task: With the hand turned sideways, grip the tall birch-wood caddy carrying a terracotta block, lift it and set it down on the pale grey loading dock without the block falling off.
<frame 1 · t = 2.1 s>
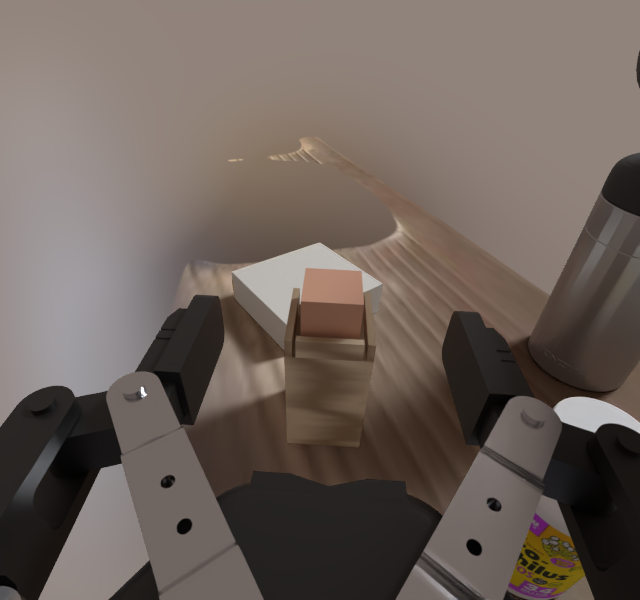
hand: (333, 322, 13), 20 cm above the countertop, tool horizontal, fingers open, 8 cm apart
supplement bottle: (513, 546, 26), on the countertop
dock: (305, 305, 47), on the countertop
caddy: (324, 414, 34), on the countertop, touching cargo
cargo: (330, 330, 28), point 10 cm above the countertop, touching caddy
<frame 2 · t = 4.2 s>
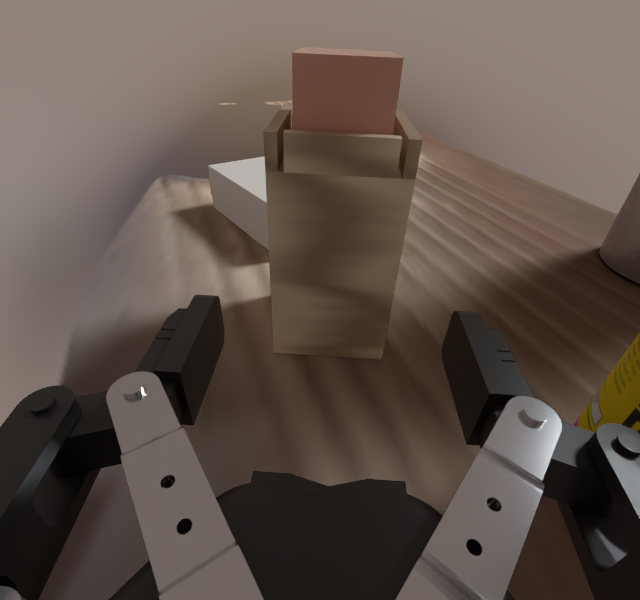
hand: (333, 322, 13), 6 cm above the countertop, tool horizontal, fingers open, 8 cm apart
dock: (304, 214, 36), on the countertop
caddy: (329, 321, 24), on the countertop, touching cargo
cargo: (340, 154, 18), point 10 cm above the countertop, touching caddy
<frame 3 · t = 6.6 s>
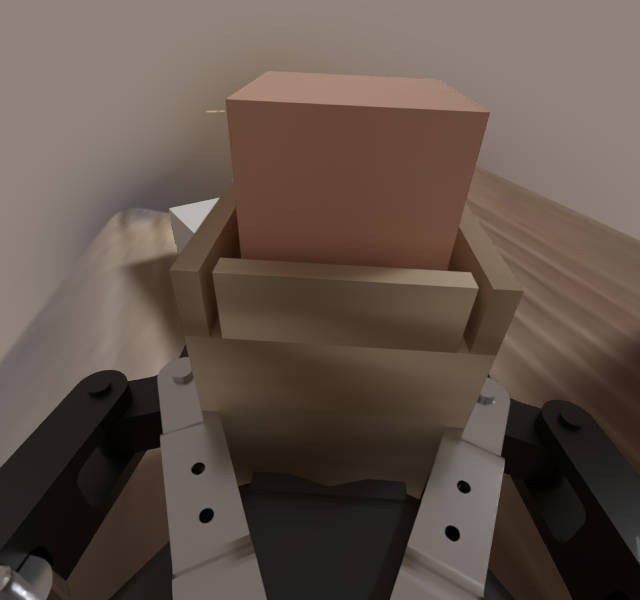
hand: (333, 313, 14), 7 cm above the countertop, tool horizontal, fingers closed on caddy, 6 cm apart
dock: (294, 268, 29), on the countertop
caddy: (323, 474, 16), on the countertop, touching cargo, gripper
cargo: (340, 264, 10), point 10 cm above the countertop, touching caddy
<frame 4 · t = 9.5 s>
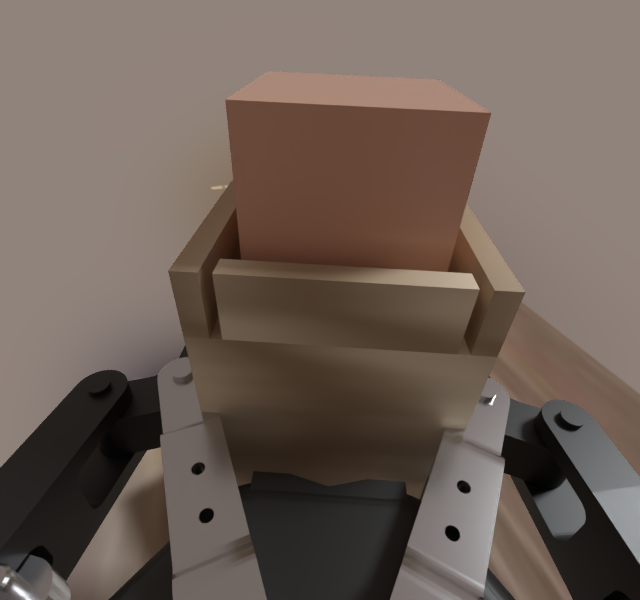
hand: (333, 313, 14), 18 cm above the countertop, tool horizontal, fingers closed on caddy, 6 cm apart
caddy: (323, 475, 16), point 11 cm above the countertop, touching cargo, gripper
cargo: (340, 265, 10), point 21 cm above the countertop, touching caddy
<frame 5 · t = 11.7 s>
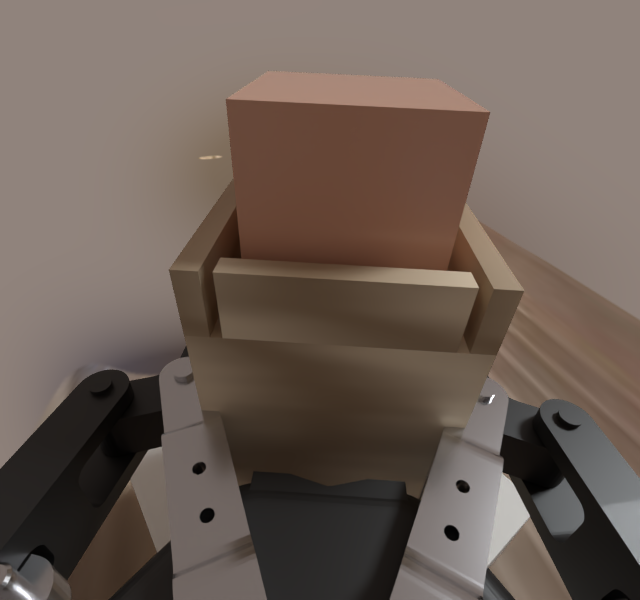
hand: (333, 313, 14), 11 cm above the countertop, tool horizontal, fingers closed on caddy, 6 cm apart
dock: (320, 523, 19), on the countertop
caddy: (323, 474, 16), point 5 cm above the countertop, touching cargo, gripper
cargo: (340, 264, 10), point 15 cm above the countertop, touching caddy
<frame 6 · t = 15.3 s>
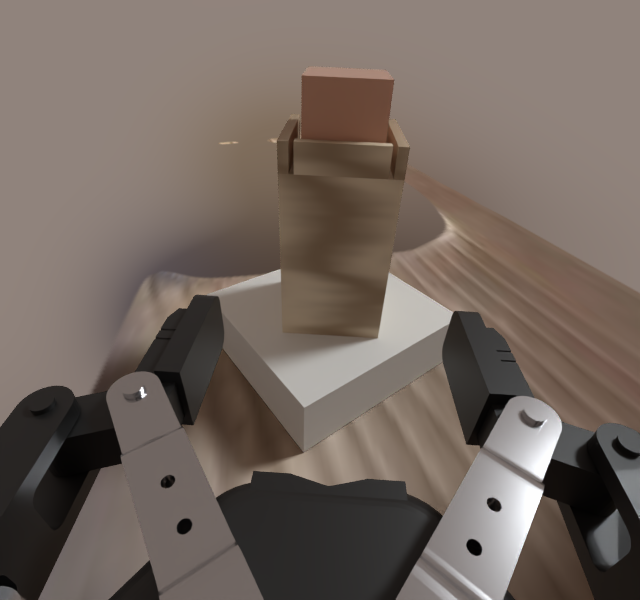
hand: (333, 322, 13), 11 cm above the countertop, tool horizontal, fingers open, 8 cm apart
dock: (328, 347, 29), on the countertop
caddy: (331, 306, 26), point 4 cm above the countertop, touching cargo, dock
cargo: (341, 158, 21), point 14 cm above the countertop, touching caddy
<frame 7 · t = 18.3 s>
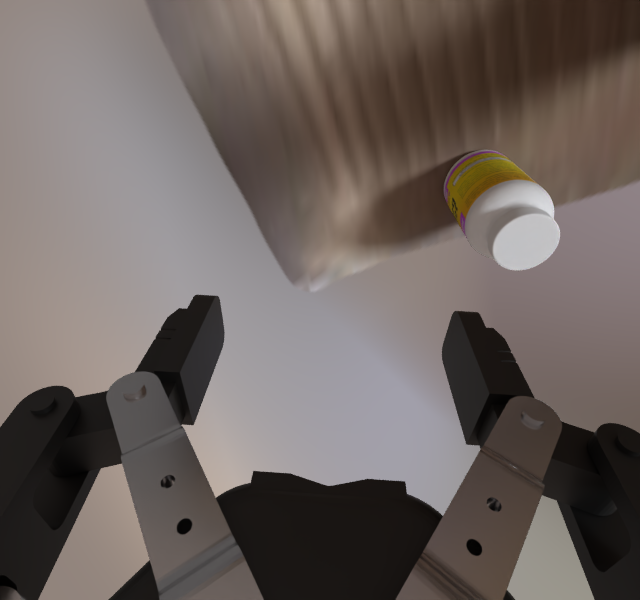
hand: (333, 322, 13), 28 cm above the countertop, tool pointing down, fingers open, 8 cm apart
supplement bottle: (475, 181, 38), on the countertop
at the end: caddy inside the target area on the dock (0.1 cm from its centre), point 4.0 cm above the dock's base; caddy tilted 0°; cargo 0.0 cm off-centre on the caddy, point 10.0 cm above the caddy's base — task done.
